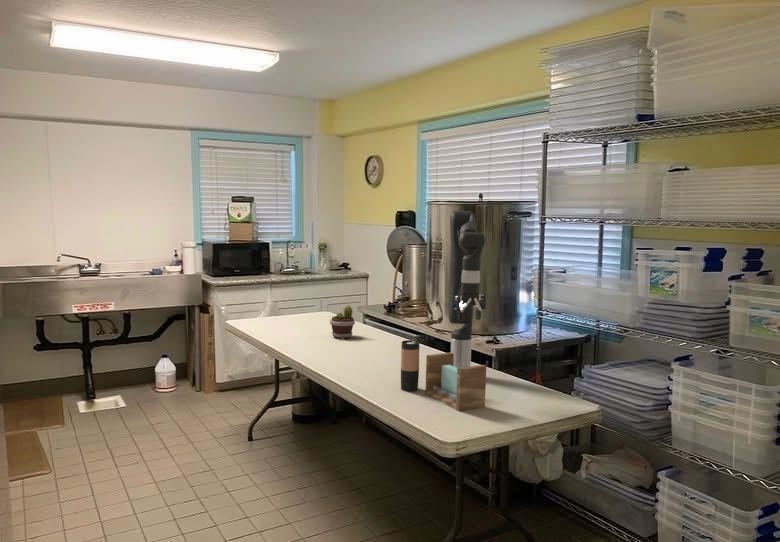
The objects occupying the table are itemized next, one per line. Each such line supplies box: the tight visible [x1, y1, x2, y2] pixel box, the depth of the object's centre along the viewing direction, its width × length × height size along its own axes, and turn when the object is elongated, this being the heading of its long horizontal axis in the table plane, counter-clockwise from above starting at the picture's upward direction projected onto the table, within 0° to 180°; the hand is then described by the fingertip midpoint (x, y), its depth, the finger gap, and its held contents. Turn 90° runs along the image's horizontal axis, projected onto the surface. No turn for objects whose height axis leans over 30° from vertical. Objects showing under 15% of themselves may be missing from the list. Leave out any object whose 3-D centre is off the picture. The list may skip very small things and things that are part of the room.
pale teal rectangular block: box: [441, 365, 457, 395], centre depth 233 cm, size 14×4×11 cm, turn 28°
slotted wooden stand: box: [424, 352, 487, 412], centre depth 233 cm, size 24×12×16 cm, turn 28°
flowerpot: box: [329, 304, 356, 340], centre depth 345 cm, size 14×15×20 cm
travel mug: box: [400, 339, 420, 393], centre depth 246 cm, size 8×8×20 cm
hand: (469, 320), depth 242 cm, fingers open, 8 cm apart
